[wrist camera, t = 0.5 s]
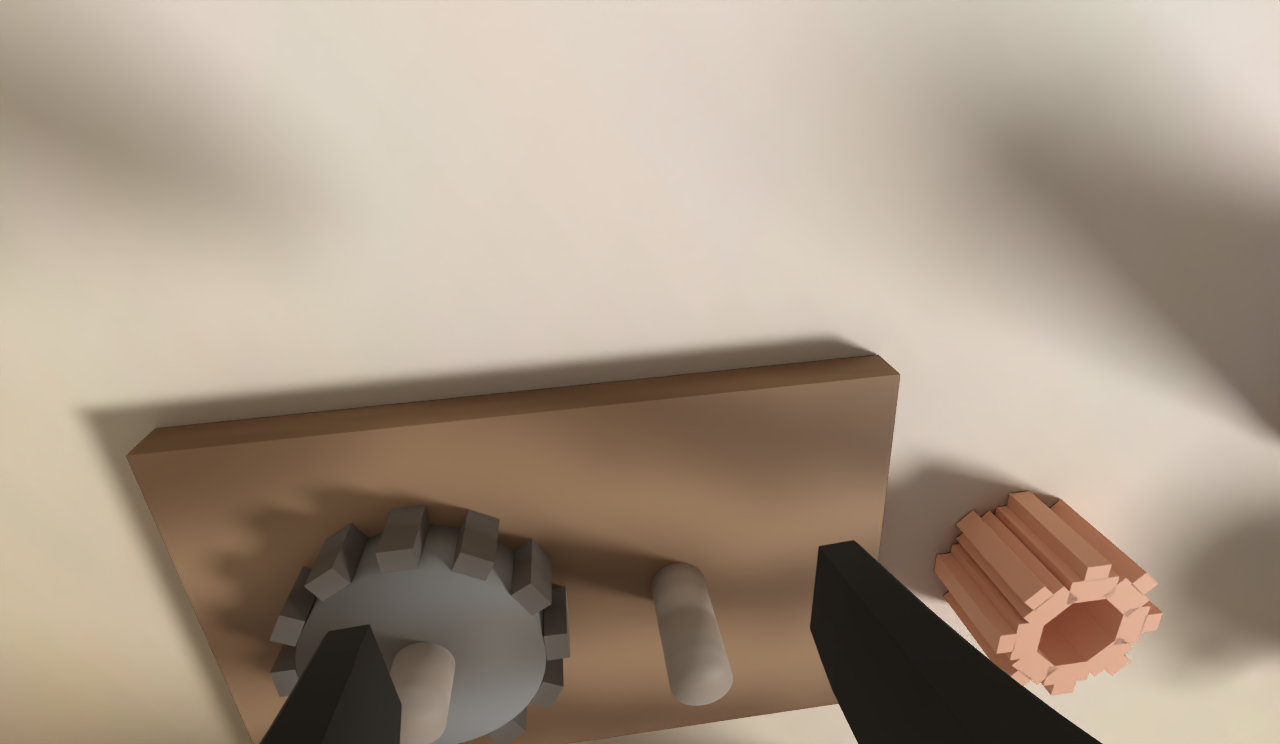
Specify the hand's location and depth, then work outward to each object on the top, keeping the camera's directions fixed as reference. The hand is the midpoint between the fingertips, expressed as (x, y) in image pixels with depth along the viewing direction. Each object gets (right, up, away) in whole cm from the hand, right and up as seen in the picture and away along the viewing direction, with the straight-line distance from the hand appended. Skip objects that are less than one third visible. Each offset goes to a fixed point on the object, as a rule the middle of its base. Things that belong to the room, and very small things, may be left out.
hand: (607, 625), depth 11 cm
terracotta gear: (+15, -3, +15) cm, 21 cm away
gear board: (-2, -3, +13) cm, 13 cm away
